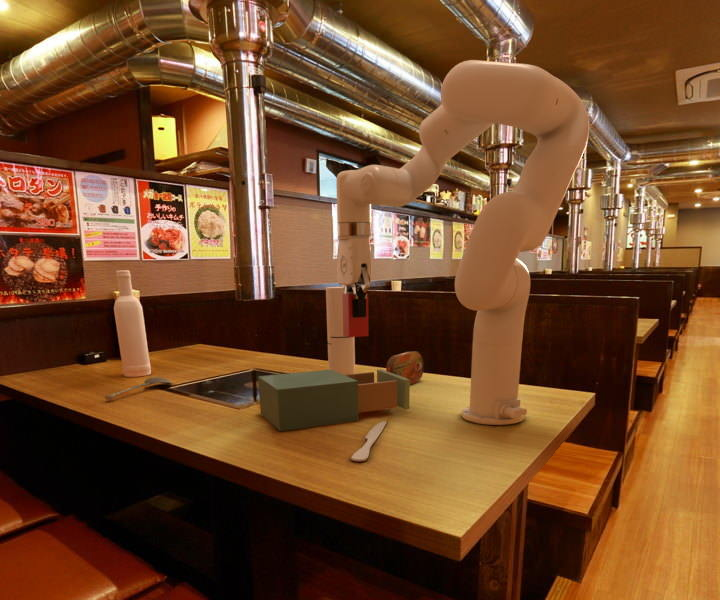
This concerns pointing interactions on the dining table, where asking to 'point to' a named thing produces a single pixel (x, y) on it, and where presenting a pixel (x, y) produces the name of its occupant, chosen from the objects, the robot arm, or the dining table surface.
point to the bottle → (131, 329)
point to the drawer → (381, 391)
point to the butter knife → (368, 442)
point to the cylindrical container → (338, 334)
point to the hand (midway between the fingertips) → (355, 315)
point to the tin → (407, 366)
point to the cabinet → (308, 399)
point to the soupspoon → (147, 382)
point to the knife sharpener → (351, 324)
